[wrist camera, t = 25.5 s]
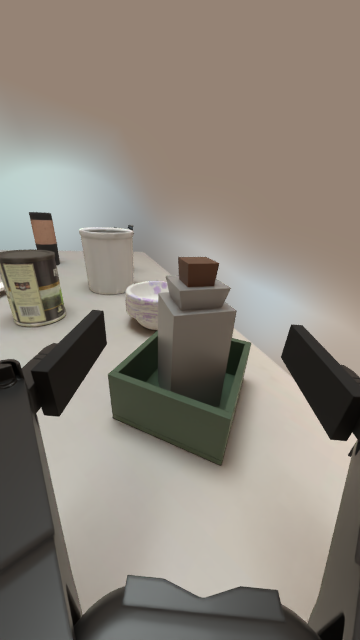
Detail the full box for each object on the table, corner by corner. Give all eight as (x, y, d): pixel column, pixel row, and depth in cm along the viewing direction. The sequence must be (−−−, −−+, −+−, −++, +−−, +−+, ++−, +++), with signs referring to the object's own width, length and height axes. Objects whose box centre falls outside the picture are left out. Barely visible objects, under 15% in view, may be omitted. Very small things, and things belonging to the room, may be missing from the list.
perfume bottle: (200, 372, 34) (213, 254, 27) (219, 405, 29) (244, 267, 21) (157, 380, 33) (158, 254, 25) (169, 417, 27) (175, 268, 19)
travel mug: (36, 264, 94) (23, 212, 85) (51, 261, 100) (42, 212, 91) (49, 267, 91) (38, 213, 82) (64, 263, 97) (55, 213, 89)
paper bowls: (180, 306, 60) (182, 278, 57) (203, 333, 48) (207, 298, 44) (123, 311, 56) (121, 280, 52) (132, 342, 43) (130, 304, 39)
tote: (221, 466, 23) (231, 419, 20) (112, 418, 27) (107, 374, 24) (243, 379, 35) (251, 342, 32) (165, 356, 39) (166, 322, 36)
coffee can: (60, 304, 57) (49, 248, 51) (71, 319, 50) (59, 255, 44) (11, 313, 51) (-8, 250, 45) (16, 331, 44) (-7, 260, 38)
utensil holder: (129, 296, 65) (126, 233, 57) (79, 294, 65) (69, 229, 57) (139, 282, 78) (137, 229, 71) (97, 280, 78) (90, 226, 70)
